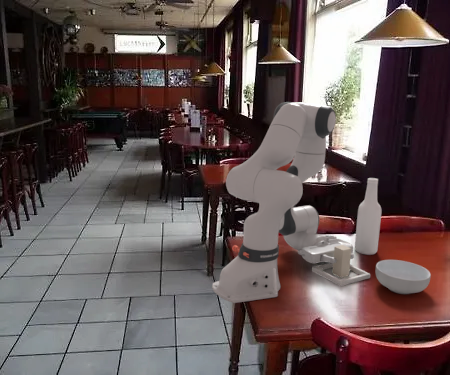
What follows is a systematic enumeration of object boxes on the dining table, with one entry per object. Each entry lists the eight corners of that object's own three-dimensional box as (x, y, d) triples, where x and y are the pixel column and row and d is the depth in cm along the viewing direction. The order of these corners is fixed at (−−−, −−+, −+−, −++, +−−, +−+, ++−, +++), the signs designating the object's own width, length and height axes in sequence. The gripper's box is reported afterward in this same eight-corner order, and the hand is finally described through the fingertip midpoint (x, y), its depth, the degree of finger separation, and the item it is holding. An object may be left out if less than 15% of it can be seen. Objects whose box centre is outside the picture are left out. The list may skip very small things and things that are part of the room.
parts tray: (340, 286, 144) (341, 281, 144) (312, 270, 156) (312, 266, 156) (369, 277, 151) (370, 273, 151) (340, 263, 163) (340, 260, 163)
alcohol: (349, 250, 177) (356, 177, 171) (363, 245, 183) (370, 175, 176) (368, 256, 171) (376, 181, 164) (381, 252, 176) (389, 179, 169)
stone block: (340, 277, 151) (343, 250, 149) (332, 273, 154) (334, 246, 152) (348, 275, 153) (351, 248, 151) (340, 271, 156) (342, 244, 154)
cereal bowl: (425, 306, 132) (428, 284, 131) (369, 292, 140) (371, 272, 138) (430, 285, 147) (432, 265, 145) (378, 274, 155) (380, 255, 153)
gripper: (295, 242, 157) (322, 255, 146) (336, 234, 167) (364, 246, 156) (294, 259, 159) (320, 273, 147) (335, 250, 169) (363, 262, 157)
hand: (343, 259), depth 151 cm, fingers open, 7 cm apart
